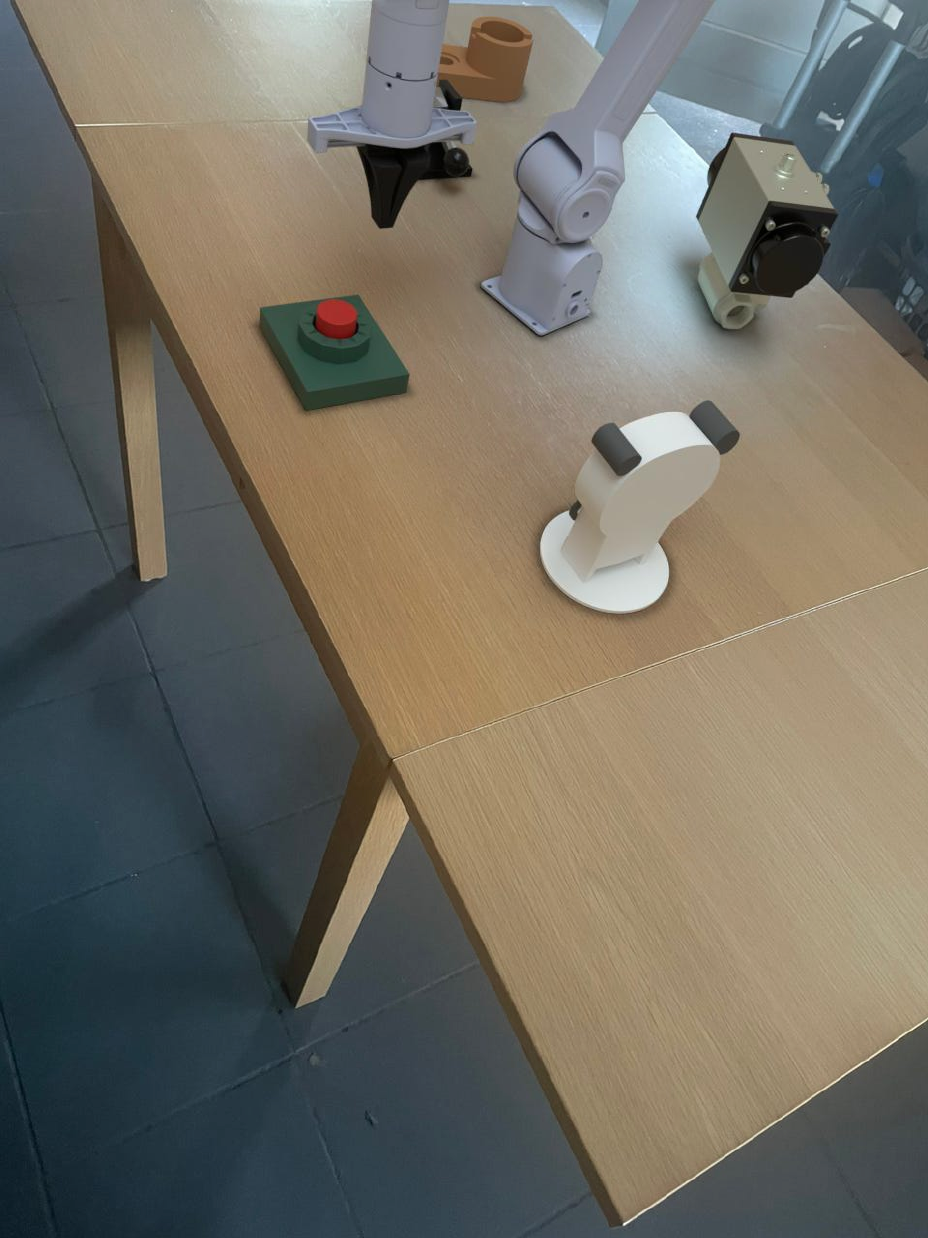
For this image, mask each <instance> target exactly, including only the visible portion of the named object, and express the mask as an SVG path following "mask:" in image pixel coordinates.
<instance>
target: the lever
mask: <svg viewBox="0 0 928 1238" xmlns="http://www.w3.org/2000/svg"><path fill="white" fill-rule="evenodd" d="M433 108H438V109H445V110H447V109H448V105H447V102H446V100H445V97H444V95H443V93H442V90H441V88H440V87H436V89H435V96H434V102H433ZM441 143H442V145H443V148H444V150H445V152H446V153H445V155H444V158H443V166H444V169H445V170H446V172H447V173H448V174H449V175H451V176H455V177H454V178H458V177H457V176H461V175H463V174H464V173H465V172H466V171H467V169H468V166H469V165H470V158H469V156H468V153H467V152H466V151H465V150H464V149H463V148H461V147H458V146H457V144H456V141H455V142H454V141H447V142H441Z"/></svg>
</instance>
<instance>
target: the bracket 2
mask: <svg viewBox="0 0 928 1238" xmlns="http://www.w3.org/2000/svg"><path fill="white" fill-rule="evenodd" d="M469 33H470V34H469V37H468V44H467V46H459V45H452V44H444V43H443V45H442V51H441V57H440V64H439V70H438V77H437V83H436V87H438V86H439V80H448V81H449V83H450V84H451V85H452V86H453V88H454V89H455V90H456V91H457V92H458V94H459V95H460V96H461V97H462V99H464V98H465V99H473V100H480V101H489V102H498V103H509V102H513V101H516V100H518V99H519V98H520V97H521V94H522V91H523V86H524V83H525V79H526V73H527V69H528V65H529V61H530V57H531V52H532V49H533V44H534V39H533V34H532V32H531V31H530V30H529V29H528V28H526V27H525V26H523V25H521V24H520V23H518V22H516V21H513V20H510V19H508V18H502V17H498V16H481V17H477V18H475V19H474V20H473V21H472V23H471V27H470V32H469Z"/></svg>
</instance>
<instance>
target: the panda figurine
mask: <svg viewBox="0 0 928 1238" xmlns="http://www.w3.org/2000/svg"><path fill="white" fill-rule="evenodd" d="M740 435H741V433H740V432H739V430H738V429H737V428H736V427H735V426H734V425H733V424H732V423H731V421H730V419H728V418H727V417H726V415H724V413H723V412H722V411H721V410H720V409H719V407H717V406H716V404H715V403H714V402H713V400H709V399H707V400H704V401H702V402H700V403H698V404H697V405H696V406H695V407H694V408H692V411H691V412H690V413H689V415H688V414H687V413H685V412H682V411H666V412H659V413H655V414H651V415H648V416H645V417H642V418H639V419H636V420H633V421H631V422H629V423H626V424H625V425H623V426H621V427H620V428H619V426H617V424H616V423H614V422H607V423H605V424H602V425H601V426H600V427H599V428H597V430H595V432H594V434H593V435H592V437H591V441H590V442H591V444H592V445H593V446H594V447H595V449H594V450H593V451H592V452H591V454H590V455H589V457H588V458H587V460H586V461H585V462H584V464H583V466H582V467H581V469H580V471H579V473H578V475H577V477H576V480H575V483H574V494H575V497H576V501H575V502H574V503H573V504H572V506H570V509H569V510H565V511H564V512H562V513H559V514H558V515H556V516H555V517H554V518H552V519H551V520H550V521H549V522H548V524H547V525H546V527H545V528H544V530H543V533H542V535H541V537H540V540H539V557H540V561H541V564H542V567H543V569H544V571H545V573H546V574H547V576H548V578H549V580H550V581H551V582H552V583H553V584H554V585H555V586H556V587H557V589H558V590H560V592H562V593H563V594H564V595H565V596H567V597H569V598H570V599H571V600H573V601H574V602H576V603H578V604H580V605H582V606H584V607H586V608H588V609H591V610H595V611H598V612H602V613H606V614H618V615H621V614H623V615H624V614H631V613H636V612H639V611H642V610H644V609H647V608H648V607H650V606H652V605H654V603H656V602H657V601H658V600H659V599H660V598H661V596H662V595H663V593H664V592H665V590H666V588H667V586H668V582H669V576H670V569H669V568H670V567H669V562H668V558H667V556H666V553H665V551H664V550H663V548H662V546H661V545H660V543H659V541H660V539H662V536H663V534H664V533H665V532H666V530H667V528H668V527H669V526H670V524H671V522H672V521H673V520H674V519H676V518H677V517H679V516H680V515H682V514H683V513H685V512H686V511H687V510H688V509H690V508H691V507H692V506H693V505H694V504H695V503H696V502H698V501H699V500H700V499H701V498H702V497H703V496H704V494H705V493H706V492H708V490H709V489H710V488H711V487H712V485H713V483H714V482H715V480H716V479H717V475H718V473H719V470H720V466H721V456H722V455H725V454H727V453H729V452H730V451H731V450H733V448H734V447H735V446H737V444H738V442H739V440H740V437H741V436H740Z"/></svg>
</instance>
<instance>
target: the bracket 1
mask: <svg viewBox="0 0 928 1238" xmlns="http://www.w3.org/2000/svg"><path fill="white" fill-rule="evenodd" d="M438 87H440V88H441V90H442V93H443V95H444V97H445V100H446V102H447V105H448V109H447V110H453V111H462V110H461V109H462V104H463V97H461V96H460V95H459V94H458V92H457V91H456V90H455V89H454V88H453V86H452V85H451V84H450V83H449V81H448V80H439V86H438ZM454 142H455V143H456V141H454ZM425 150H426V152H427V153H428V154H429V156H430V162H429V167H428V170H427V171H426V172H425V173H424V174H423V175H422V176H421V177H420V178H419V180H418V181H420V180H431V179H432V180H435V179H447V178H448V179H450V178H451V179H452V178H465V177H467V178H468V177H472V174H473V169H474V168H473V167H472V166H471V164H469V166H468V169H467V171H466V172H465V173H464V174H463V175H461V176H457V177H455V176H451V175H449V174H448V173H447V172H446V170H445V169H444V166H443V158H444V155H445V153H446V152H445V150H444V148H443V145H442V143H441V142H432V143H429V144H425Z"/></svg>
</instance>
